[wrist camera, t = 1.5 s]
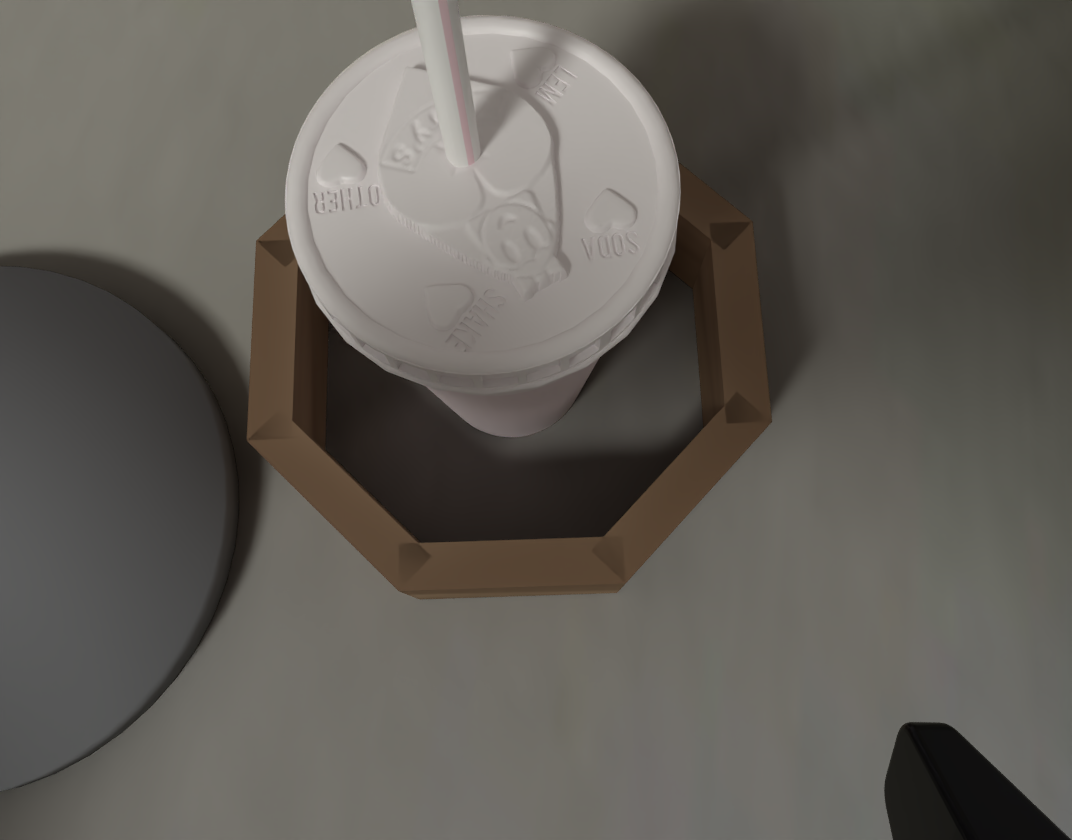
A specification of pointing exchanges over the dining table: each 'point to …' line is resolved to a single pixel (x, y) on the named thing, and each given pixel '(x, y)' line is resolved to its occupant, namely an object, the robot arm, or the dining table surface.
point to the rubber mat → (100, 518)
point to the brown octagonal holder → (531, 564)
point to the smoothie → (485, 210)
